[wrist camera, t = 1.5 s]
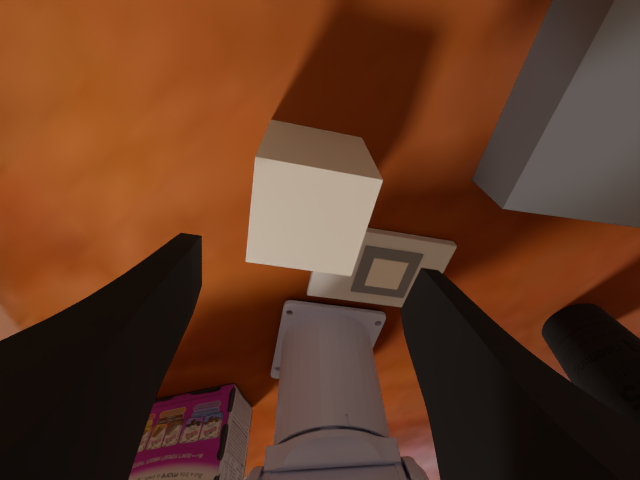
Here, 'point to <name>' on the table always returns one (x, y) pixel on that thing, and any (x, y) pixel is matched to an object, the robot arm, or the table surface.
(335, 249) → the cream block
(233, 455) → the candy bar box
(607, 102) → the gray block
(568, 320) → the drinking cup
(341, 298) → the tile
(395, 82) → the table surface
